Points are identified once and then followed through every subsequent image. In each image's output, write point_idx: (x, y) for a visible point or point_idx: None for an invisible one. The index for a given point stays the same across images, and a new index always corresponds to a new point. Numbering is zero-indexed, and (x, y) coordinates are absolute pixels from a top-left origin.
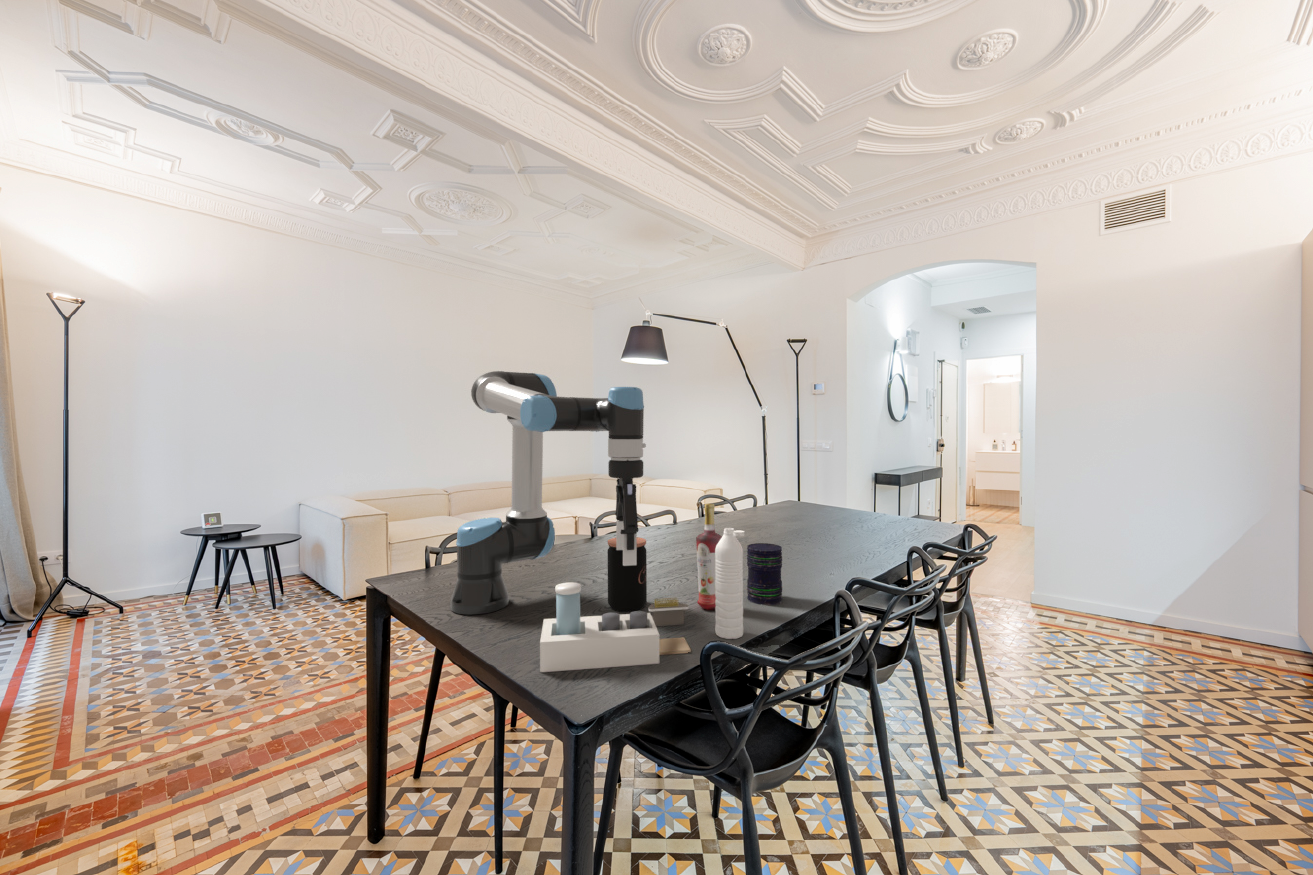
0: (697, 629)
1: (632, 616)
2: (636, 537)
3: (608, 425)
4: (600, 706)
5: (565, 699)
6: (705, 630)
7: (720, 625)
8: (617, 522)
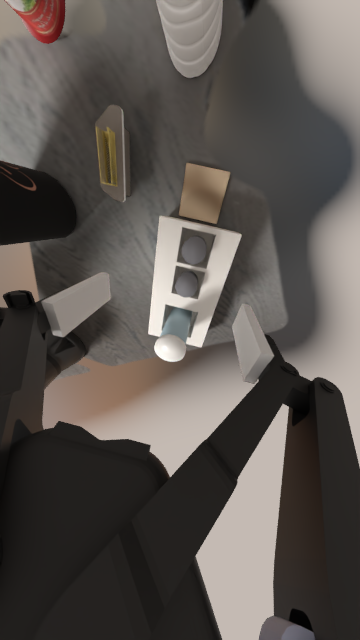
0: (155, 113)
1: (199, 262)
2: (269, 346)
3: None
4: (279, 310)
5: None
6: (163, 95)
7: (201, 55)
8: (64, 334)
